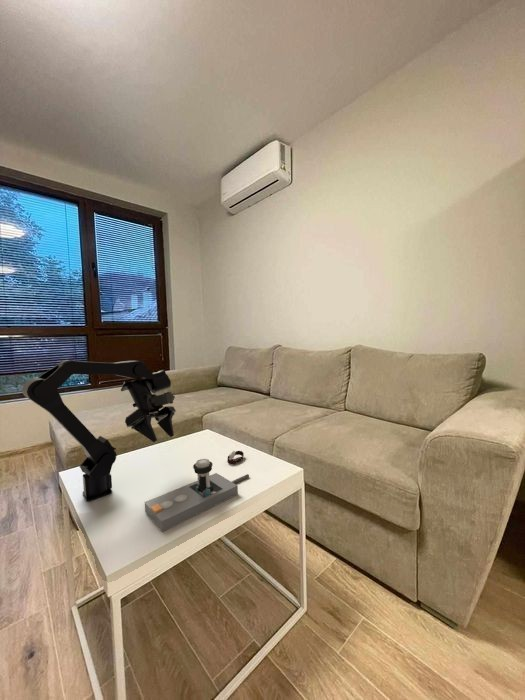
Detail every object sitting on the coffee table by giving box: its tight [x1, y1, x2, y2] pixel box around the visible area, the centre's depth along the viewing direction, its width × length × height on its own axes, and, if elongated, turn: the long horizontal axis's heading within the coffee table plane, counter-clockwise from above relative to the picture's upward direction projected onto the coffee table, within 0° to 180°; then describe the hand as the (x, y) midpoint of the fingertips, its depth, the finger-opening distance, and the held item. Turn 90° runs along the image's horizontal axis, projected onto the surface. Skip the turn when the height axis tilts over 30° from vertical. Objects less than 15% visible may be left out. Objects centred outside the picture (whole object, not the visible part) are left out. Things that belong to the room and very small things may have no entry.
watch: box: [226, 450, 244, 465], centre depth 103 cm, size 8×5×4 cm, turn 148°
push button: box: [192, 458, 216, 498], centre depth 79 cm, size 7×5×10 cm
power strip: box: [144, 472, 250, 533], centre depth 80 cm, size 30×11×3 cm, turn 132°
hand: (164, 438), depth 88 cm, fingers open, 9 cm apart
